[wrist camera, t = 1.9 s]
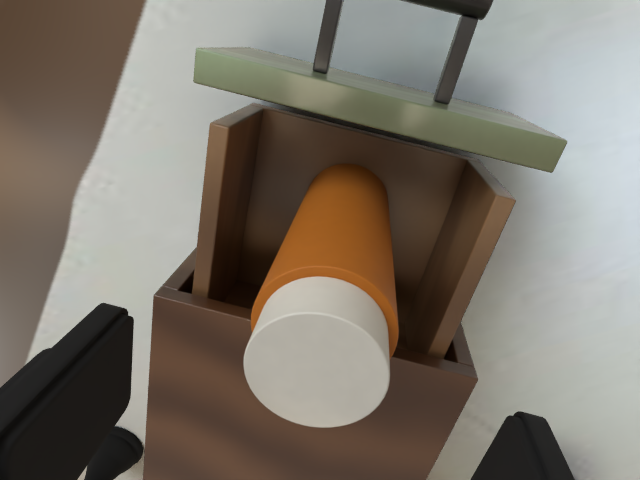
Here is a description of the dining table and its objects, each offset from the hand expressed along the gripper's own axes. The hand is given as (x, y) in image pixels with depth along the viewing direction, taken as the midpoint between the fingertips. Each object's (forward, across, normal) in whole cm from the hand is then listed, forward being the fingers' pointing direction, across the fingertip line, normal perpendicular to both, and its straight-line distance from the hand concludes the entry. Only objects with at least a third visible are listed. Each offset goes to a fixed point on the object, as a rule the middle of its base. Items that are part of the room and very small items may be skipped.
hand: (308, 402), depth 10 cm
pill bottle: (+14, 0, 0) cm, 14 cm away
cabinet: (+16, 0, +11) cm, 19 cm away
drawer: (+15, 0, -2) cm, 15 cm away
